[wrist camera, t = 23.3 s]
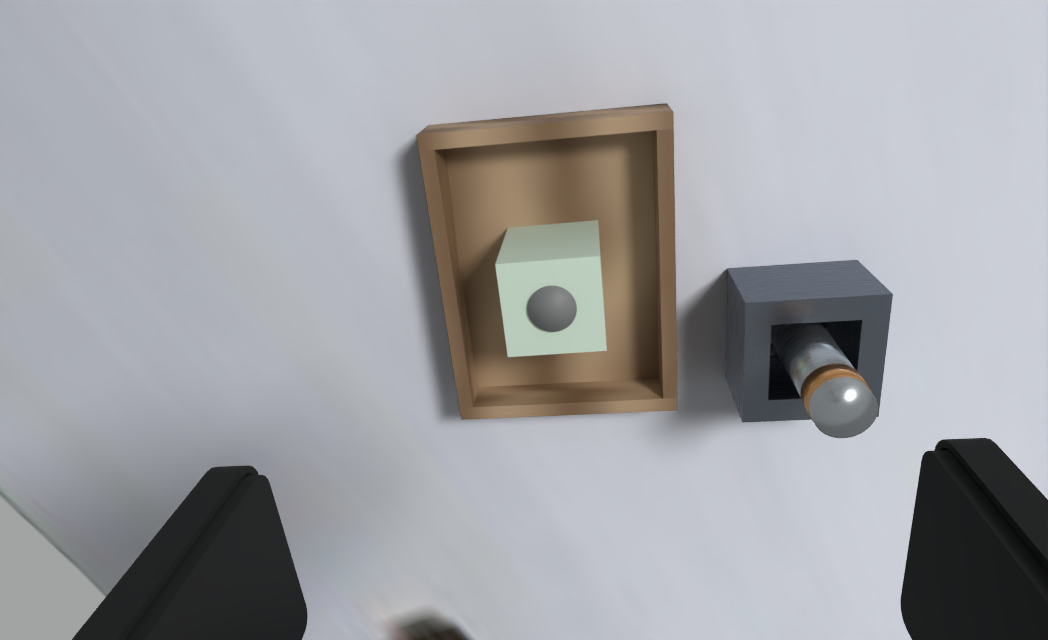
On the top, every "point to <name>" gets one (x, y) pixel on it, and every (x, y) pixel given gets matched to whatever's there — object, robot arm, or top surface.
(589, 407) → the tray
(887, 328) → the block
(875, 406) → the cylinder
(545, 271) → the pale green block
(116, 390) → the top surface
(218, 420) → the top surface
